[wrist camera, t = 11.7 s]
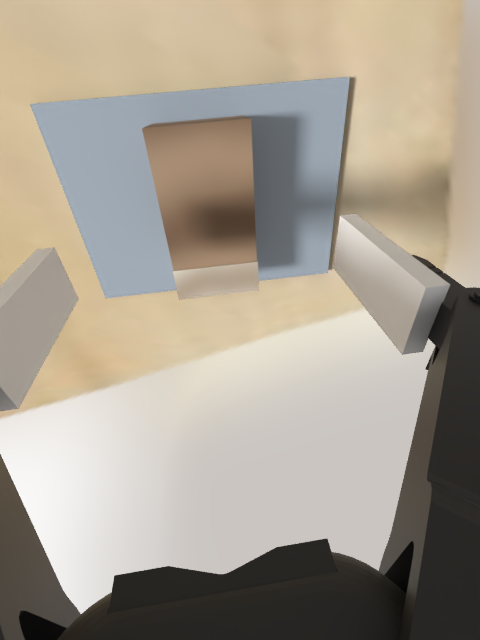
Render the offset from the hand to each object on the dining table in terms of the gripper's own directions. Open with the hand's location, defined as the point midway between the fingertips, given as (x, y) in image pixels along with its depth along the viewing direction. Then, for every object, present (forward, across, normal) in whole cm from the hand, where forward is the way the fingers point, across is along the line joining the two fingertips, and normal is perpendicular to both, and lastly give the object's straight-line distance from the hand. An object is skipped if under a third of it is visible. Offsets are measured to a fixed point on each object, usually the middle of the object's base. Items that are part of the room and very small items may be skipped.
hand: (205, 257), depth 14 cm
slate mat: (+11, 0, -1) cm, 11 cm away
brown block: (+10, 0, -1) cm, 10 cm away
